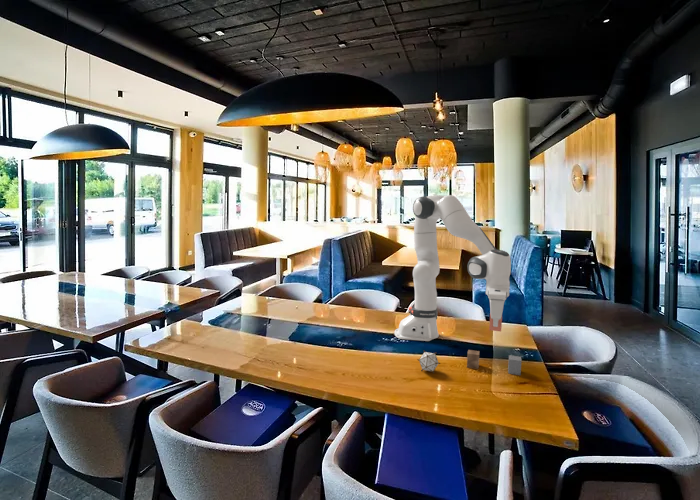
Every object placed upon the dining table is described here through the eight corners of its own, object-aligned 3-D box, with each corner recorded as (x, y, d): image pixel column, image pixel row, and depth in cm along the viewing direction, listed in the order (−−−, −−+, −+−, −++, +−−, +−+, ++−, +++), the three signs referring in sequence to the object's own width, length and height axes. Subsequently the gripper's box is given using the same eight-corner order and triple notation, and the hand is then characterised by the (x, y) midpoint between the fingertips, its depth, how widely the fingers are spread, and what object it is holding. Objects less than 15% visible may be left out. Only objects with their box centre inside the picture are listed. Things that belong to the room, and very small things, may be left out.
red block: (489, 330, 158) (490, 315, 157) (489, 326, 162) (490, 312, 161) (501, 331, 156) (502, 316, 156) (501, 328, 161) (502, 313, 160)
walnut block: (466, 367, 163) (467, 353, 162) (467, 363, 167) (468, 349, 166) (478, 369, 161) (478, 355, 160) (478, 364, 165) (479, 351, 165)
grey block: (508, 373, 157) (509, 359, 156) (508, 369, 161) (508, 355, 161) (520, 375, 155) (521, 360, 155) (520, 370, 160) (520, 356, 159)
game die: (423, 378, 160) (413, 355, 164) (442, 371, 160) (432, 347, 164) (424, 376, 152) (414, 351, 156) (445, 368, 152) (434, 344, 156)
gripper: (489, 285, 168) (488, 316, 170) (488, 295, 149) (486, 330, 151) (505, 286, 166) (503, 318, 168) (506, 296, 147) (504, 332, 149)
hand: (495, 324), depth 159 cm, fingers closed on red block, 4 cm apart
